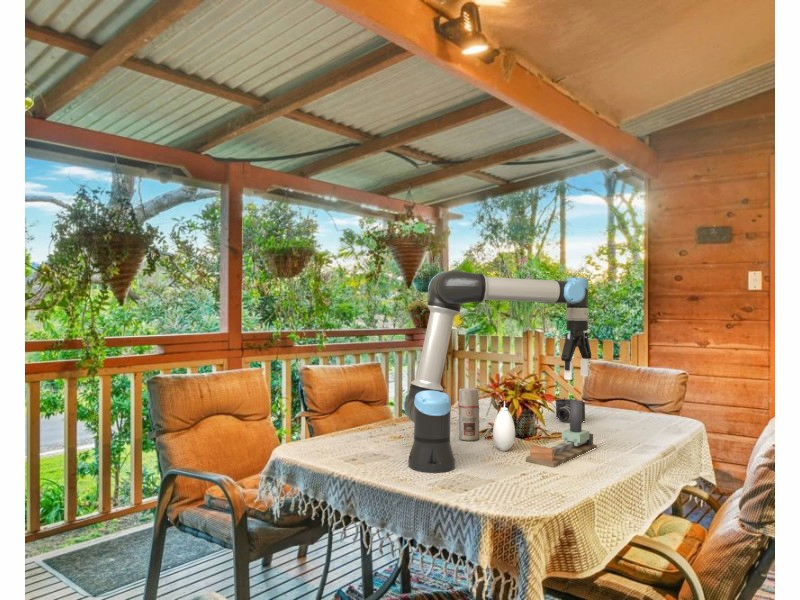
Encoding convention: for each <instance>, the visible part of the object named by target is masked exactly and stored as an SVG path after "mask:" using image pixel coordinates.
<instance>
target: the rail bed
mask: <svg viewBox="0 0 800 600" xmlns="http://www.w3.org/2000/svg"><path fill="white" fill-rule="evenodd" d="M594 448H597V449H598V447H597V444H595V443H594V433H591V432H590V435H589V440H587V442H586V443H584V444H581V445H579V446H574V442H572V441H568V442H566V443H564V442H563V443H560V444H557V445H555V446H552V447H546V446H541V445H535V444H530V447H529V455H528V456H526V457H525V462H526V463H531V464H535V465H540V466H544V467H549V468H556V467H558V465H559V466H561V465H563V464H566V463H567V461H568V462H570V461H572V460H574V459H573V458H575V457H577V456H579V455H582V454H584V453H586V452H588V451H590V450H592V449H594ZM588 453H589V452H588ZM586 454H587V453H586ZM584 455H585V454H584ZM582 456H583V455H582ZM579 457H580V456H579ZM577 458H578V457H577ZM571 459H572V460H571ZM575 459H576V458H575ZM569 460H570V461H569ZM562 463H563V464H562ZM560 464H561V465H560Z"/></svg>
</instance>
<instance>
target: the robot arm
mask: <svg viewBox="0 0 800 600" xmlns="http://www.w3.org/2000/svg"><path fill="white" fill-rule="evenodd" d="M589 291H590V290H589V281H588V279H587V278H586V277H568V278H567V279H566V280H553V279H551V280H549V279H534V278H532V279H531V278H512V277H496V276H495V277H492V276H486V275H485V274H484V273H478V272H477V273H476V272H468V271H465V270H464V271H463V270H456V269H454V270H447V271H442V272H438V273H437V274H435V275H434V276H433V277H432V278H431V280H430V281H429V284H428V288H427V292H428V297H429V298H428V300H427V306H426V307H427V308H428V310H429V312H430V313H429V317H428V321H427V327H426V331H425V336H424V339H423V340H424V341H423V346H422V351H421V354H420V360H419V365H418V369H417V374H416V378H415V379H414V380H412V381H411V382H410V385H409V390H408V392H407V394H406V395H405V397H404V400H403V410H404V412H405V415H406V416H407V417H408V419H409V420H410V421H412V422H413V424H414V425H413V429H414V430H413V442H412V446H411V449H410V452H409V455H408V459H407V460H408V461H407V466H408V467H409V468H410V469H412V470H414V471H417V472H418V471H419V472H423V473H444V472H449V471H452V470H454V469H455V468H456V458H455V457H454V456H455V455H454V453H453V448H452V444H451V409H452V403H451V397H450V396H449V395H448V393H445V392H444V388H443V386H442V384H441V383H442V377H443V373H444V366H445V364H446V363H445V362H446V360H447V359H446V358H447V353H448V349H449V344H450V339H451V334H452V330H453V325H454V320H455V317H456V316H457V315H459V314H460V312H461V307H462V304H463V305H464V304H469V303H470V304H471V303H478V304H479V303H481V304H482V303H483V302H484V301H485V300H487V301H509V302H535V303H536V302H537V303H539V304H540V303H541V304H566V315H565V317H566V319H567V320H566V330H567V331H569V332H568V333H565V337H564V338H565V339H564V344H563V347H562V353H561V357H560V359H561V361H562V362H564V363H563V364H564V365H563V366H564V371H563V373H564V377H563V378H564V379H563V380H568V381H570V380H573V361H572V359H573V356H574V353H575V351H576V348H578V350H579V353H580V356H581V358H580V376H581V377H587V378H588V377H589V362H590V361H589V360H590V359H591V360H592V352H591V351H592V350H591V347H590V342H589V333H588V332H586V331H588V330H589V321H588V320H587V319H588V318H589V313H590V312H589Z"/></svg>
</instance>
